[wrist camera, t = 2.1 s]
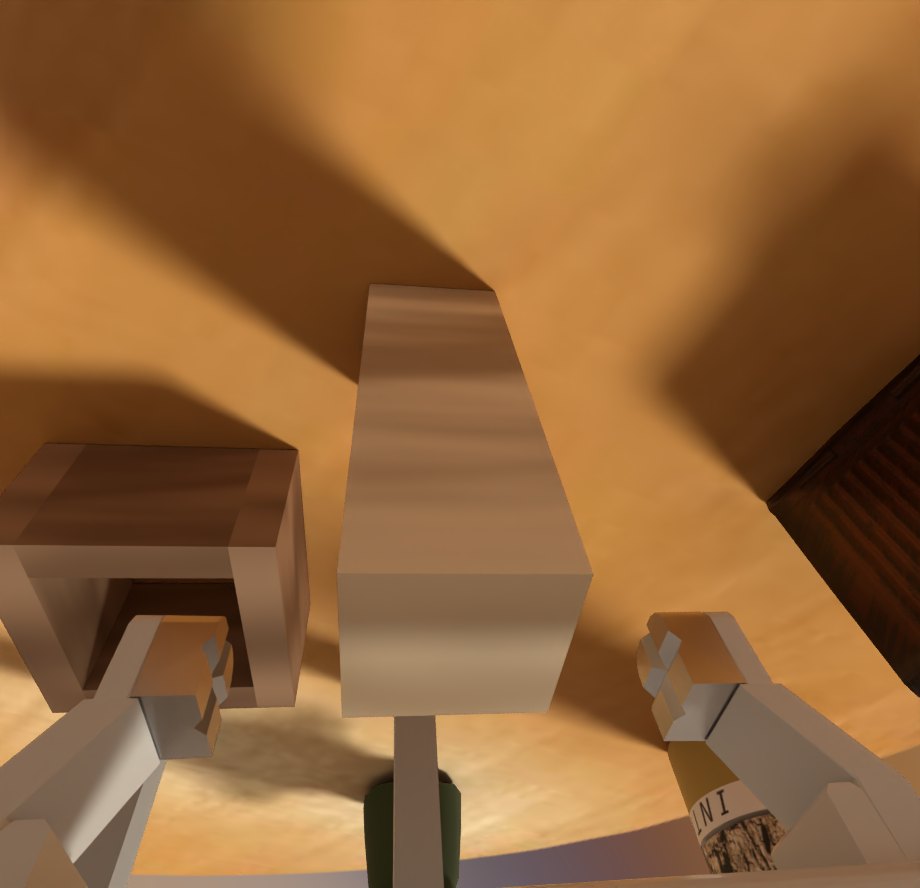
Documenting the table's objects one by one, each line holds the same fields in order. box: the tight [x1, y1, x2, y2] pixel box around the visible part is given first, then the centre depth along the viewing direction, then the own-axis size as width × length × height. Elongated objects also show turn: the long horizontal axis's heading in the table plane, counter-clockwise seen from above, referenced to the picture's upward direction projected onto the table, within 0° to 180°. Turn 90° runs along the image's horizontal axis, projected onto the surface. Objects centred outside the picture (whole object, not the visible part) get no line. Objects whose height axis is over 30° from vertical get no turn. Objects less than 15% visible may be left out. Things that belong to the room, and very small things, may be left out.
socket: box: [0, 443, 310, 713], centre depth 22 cm, size 9×9×5 cm
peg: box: [337, 283, 593, 718], centre depth 15 cm, size 4×4×12 cm
